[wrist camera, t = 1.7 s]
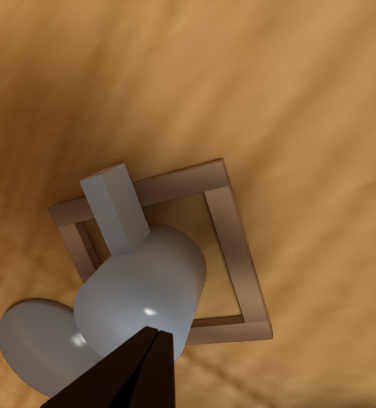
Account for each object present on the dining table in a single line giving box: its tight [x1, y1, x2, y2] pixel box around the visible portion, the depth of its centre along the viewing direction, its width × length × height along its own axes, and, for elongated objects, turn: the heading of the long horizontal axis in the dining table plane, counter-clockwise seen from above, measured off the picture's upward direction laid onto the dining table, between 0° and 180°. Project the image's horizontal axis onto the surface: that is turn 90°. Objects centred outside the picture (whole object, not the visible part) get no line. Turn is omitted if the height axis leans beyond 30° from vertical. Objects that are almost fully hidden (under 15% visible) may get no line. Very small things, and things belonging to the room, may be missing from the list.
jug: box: [73, 163, 207, 362], centre depth 18 cm, size 12×6×6 cm, turn 18°
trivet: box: [0, 299, 103, 398], centre depth 27 cm, size 11×11×1 cm
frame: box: [48, 158, 273, 345], centre depth 21 cm, size 13×13×1 cm
